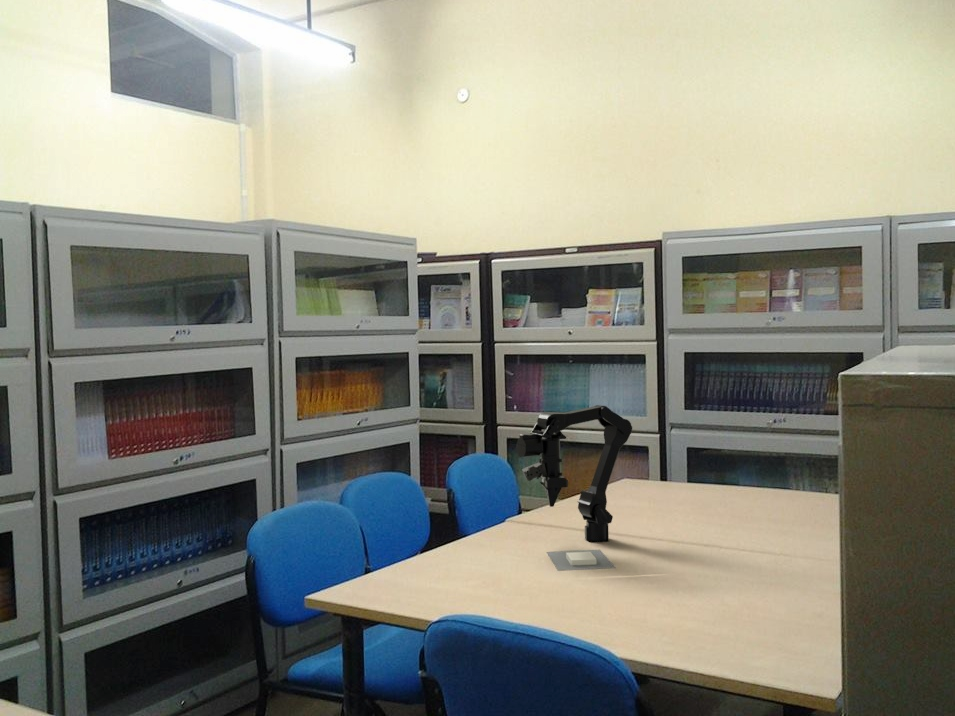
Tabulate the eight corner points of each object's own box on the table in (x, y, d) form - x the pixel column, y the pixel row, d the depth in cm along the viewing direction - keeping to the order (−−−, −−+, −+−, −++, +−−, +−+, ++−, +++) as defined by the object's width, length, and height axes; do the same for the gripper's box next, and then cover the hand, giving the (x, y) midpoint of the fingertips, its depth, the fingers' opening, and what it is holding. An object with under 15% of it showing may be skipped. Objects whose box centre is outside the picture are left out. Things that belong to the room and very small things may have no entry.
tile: (590, 551, 246) (596, 559, 238) (590, 557, 246) (596, 564, 238) (566, 552, 246) (571, 560, 238) (566, 558, 246) (571, 565, 238)
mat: (599, 550, 254) (599, 549, 254) (616, 569, 234) (616, 567, 234) (546, 553, 253) (546, 551, 253) (557, 572, 233) (557, 570, 233)
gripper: (518, 451, 266) (519, 501, 267) (530, 460, 248) (531, 514, 248) (553, 450, 268) (554, 500, 268) (567, 458, 249) (568, 512, 250)
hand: (551, 506), depth 259 cm, fingers closed
